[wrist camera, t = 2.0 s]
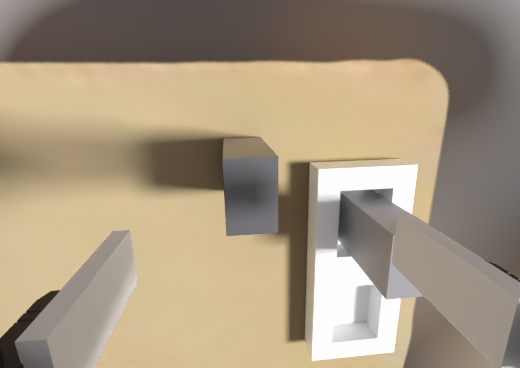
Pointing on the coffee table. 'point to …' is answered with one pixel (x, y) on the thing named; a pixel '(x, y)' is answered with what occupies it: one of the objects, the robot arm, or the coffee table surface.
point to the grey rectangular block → (250, 186)
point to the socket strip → (338, 272)
